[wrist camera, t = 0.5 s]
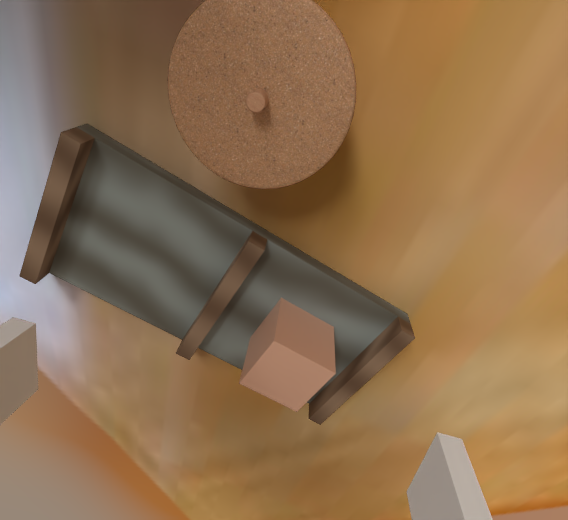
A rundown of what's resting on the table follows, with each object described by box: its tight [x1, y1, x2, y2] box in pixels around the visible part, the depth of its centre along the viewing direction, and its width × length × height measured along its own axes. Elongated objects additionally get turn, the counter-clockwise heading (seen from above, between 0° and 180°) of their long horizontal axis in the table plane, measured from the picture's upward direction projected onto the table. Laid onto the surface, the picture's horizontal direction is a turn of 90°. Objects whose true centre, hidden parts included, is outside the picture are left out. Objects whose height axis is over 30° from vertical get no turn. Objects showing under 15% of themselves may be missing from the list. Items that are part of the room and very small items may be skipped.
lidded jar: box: [168, 0, 356, 189], centre depth 24 cm, size 11×11×9 cm
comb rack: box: [20, 124, 415, 424], centre depth 36 cm, size 15×33×4 cm, turn 58°
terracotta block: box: [239, 298, 336, 412], centre depth 35 cm, size 6×6×6 cm
